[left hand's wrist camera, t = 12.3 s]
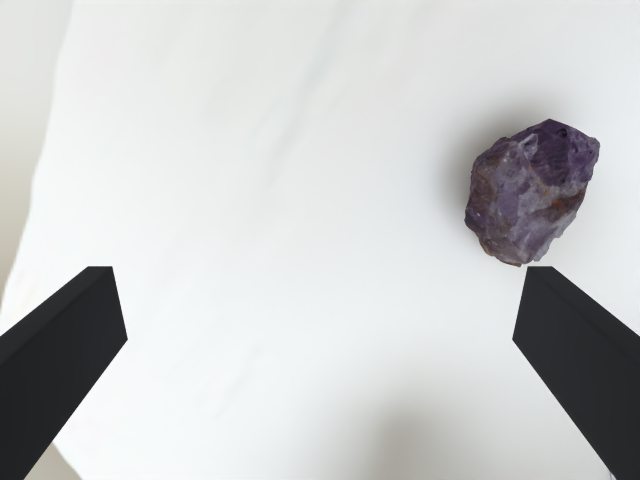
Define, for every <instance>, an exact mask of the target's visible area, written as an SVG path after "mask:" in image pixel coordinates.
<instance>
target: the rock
mask: <svg viewBox="0 0 640 480" xmlns="http://www.w3.org/2000/svg"><path fill="white" fill-rule="evenodd" d="M599 148H600V143H599V142H598V141H597V139H596V138H593V137H588V136H587V135H585V134H584V133H582V132H580V131H579V130H577V129H575V128H573V127H570V126H568V125H565V124H563V123H560V122H557V121H554V120H552V119H548V120H546V121H543V122H542V123H540V124H537V125H534V126H531V127H529V128H527V129H526V130H524V131H522V132H520V133H518V134H516V135H514V136H512V138H511V139H510V138H506V137H503V138H500V139H499V140H498V141H497V142H496V143H495V144H494V145H493V146H492V147H491V148H490V149H488V150H486V151H485V152H484V153H483V154H481V155H480V156H478V157H477V159H476V160H475V162H474V165H473V170H472V172H471V173H472V175H471V186H470V196H469V202H468V204H467V207H466V210H465V214H466V217H465V220H464V221H465V223H466V226H467V227H468V228H469V229H471V230H472V231H473V232H475V234H476V235H477V237H478V238H479V241H480V245H481V246H482V248H483V249H484V251H485V252H486V253H487V254H488V255H490V256H495V257H496V258H497V259H499V260H500V261H501V262H503V263H506V264H510V265H513V266H517V267H521V265H522V264H527V263H529V262H531V261H532V260H533V259H534V261H539V260H540V259H541V257H542V256H544V255H545V254H546V252H547V251H548V249H549V245H550V243H551V242H552V240H553V239H554V238H559V237H560V236H561V235H562V234H563V231H564V230H565V229H566V228H567V226H568V225H569V224H570V223H571V222H572V221H573V220H574V219H575V217H576V212H577V211H578V209H579V207H580V205H581V203H582V202H583V199H584V196H585V192H586V187H587V184H588V181H590V180H591V177H592V175H593V167H594V165H595V163H596V162H597V161H598V157H599Z"/></svg>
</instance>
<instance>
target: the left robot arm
mask: <svg viewBox="0 0 640 480" xmlns="http://www.w3.org/2000/svg"><path fill="white" fill-rule="evenodd" d="M127 340H128V338H127V334H126V329H125V324H124V319H123V315H122V310H121V305H120V301H119V296H118V291H117V287H116V282H115V277H114V273H113V268H112V266H88V267H87V268H85V269H84V270H83V271H82V272H80V273H79V274H78V275H77V276H75V277H74V278H73V279H72V280H70V281H69V282H68V283H67V284H65V285H64V286H63V287H62V288H60V289H59V290H58V291H57V292H55V293H54V294H53V295H52V296H50V297H49V298H48V299H47V300H45V301H44V302H43V303H42V304H40V305H39V306H38V307H37V308H35V309H34V310H33V311H32V312H30V313H29V314H28V315H27V316H25V317H24V318H23V319H22V320H20V321H19V322H18V323H17V324H15V325H14V326H13V327H12V328H10V329H9V330H8V331H7V332H5V333H4V334H3V335H2V336H0V480H24V478H25V477H26V476H27V474H28V473H29V472H30V470H31V469H32V468H33V466H34V465H35V463H36V462H37V461H38V460H39V458H40V457H41V455H42V454H43V453H44V451H45V450H46V449H47V447H48V446H49V445H50V443H51V442H52V441H53V439H54V438H55V437H56V435H57V434H58V433H59V431H60V430H61V429H62V427H63V426H64V425H65V423H66V422H67V421H68V419H69V418H70V416H71V415H72V414H73V412H74V411H75V410H76V408H77V407H78V406H79V404H80V403H81V402H82V400H83V399H84V398H85V396H86V395H87V394H88V392H89V391H90V390H91V388H92V387H93V386H94V384H95V383H96V382H97V380H98V379H99V377H100V376H101V375H102V373H103V372H104V371H105V369H106V368H107V367H108V365H109V364H110V363H111V361H112V360H113V359H114V357H115V356H116V355H117V353H118V352H119V351H120V349H121V348H122V347H123V345H124V344H125V343H126V341H127ZM512 340H513V341H514V343H515V344H516V345H517V347H518V348H519V349H520V351H521V352H522V353H523V355H524V356H525V357H526V359H527V360H528V361H529V363H530V364H531V365H532V367H533V368H534V369H535V371H536V372H537V373H538V375H539V376H540V377H541V379H542V380H543V382H544V383H545V384H546V386H547V387H548V388H549V390H550V391H551V392H552V394H553V395H554V396H555V398H556V399H557V400H558V402H559V403H560V404H561V406H562V407H563V408H564V410H565V411H566V412H567V414H568V415H569V416H570V418H571V419H572V421H573V422H574V423H575V425H576V426H577V427H578V429H579V430H580V431H581V433H582V434H583V435H584V437H585V438H586V439H587V441H588V442H589V443H590V445H591V446H592V447H593V449H594V450H595V451H596V453H597V454H598V455H599V457H600V458H601V460H602V461H603V462H604V464H605V465H606V466H607V468H608V469H609V470H610V472H611V473H612V474H613V476H614V477H615V478H616V480H640V336H638V335H637V334H636V333H635V332H633V331H632V330H631V329H630V328H628V327H627V326H626V325H625V324H623V323H622V322H621V321H620V320H618V319H617V318H616V317H615V316H613V315H612V314H611V313H610V312H608V311H607V310H606V309H605V308H603V307H602V306H601V305H600V304H598V303H597V302H596V301H595V300H593V299H592V298H591V297H590V296H588V295H587V294H586V293H585V292H583V291H582V290H581V289H580V288H578V287H577V286H576V285H575V284H573V283H572V282H571V281H570V280H568V279H567V278H566V277H565V276H563V275H562V274H561V273H560V272H558V271H557V270H556V269H555V268H553V267H552V266H528V268H527V273H526V277H525V282H524V287H523V291H522V296H521V301H520V305H519V310H518V315H517V319H516V324H515V329H514V334H513V338H512Z"/></svg>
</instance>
